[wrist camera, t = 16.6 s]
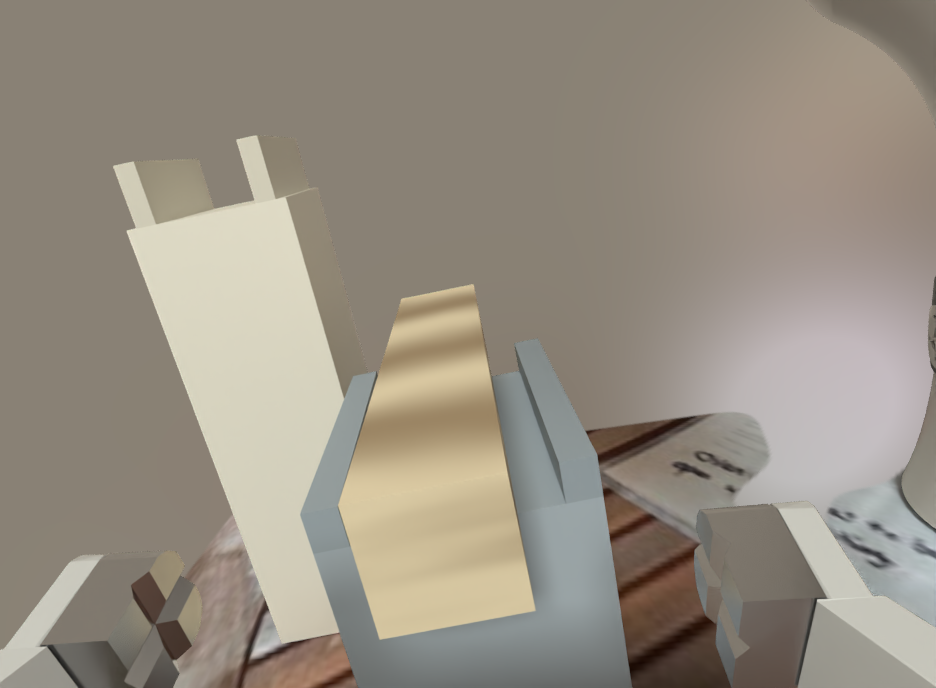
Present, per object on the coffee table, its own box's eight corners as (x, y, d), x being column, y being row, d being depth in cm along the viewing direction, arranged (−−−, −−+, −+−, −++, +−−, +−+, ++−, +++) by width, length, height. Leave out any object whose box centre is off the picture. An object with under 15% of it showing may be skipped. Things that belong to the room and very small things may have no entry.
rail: (418, 366, 34) (401, 298, 33) (487, 352, 34) (473, 284, 33) (379, 639, 15) (337, 505, 14) (535, 610, 15) (507, 472, 14)
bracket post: (308, 560, 45) (173, 163, 36) (413, 539, 45) (303, 136, 36) (281, 643, 38) (102, 168, 29) (407, 619, 37) (267, 133, 28)
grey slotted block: (427, 640, 35) (352, 376, 30) (584, 610, 35) (537, 338, 30) (420, 874, 24) (299, 514, 19) (653, 830, 24) (596, 454, 19)
